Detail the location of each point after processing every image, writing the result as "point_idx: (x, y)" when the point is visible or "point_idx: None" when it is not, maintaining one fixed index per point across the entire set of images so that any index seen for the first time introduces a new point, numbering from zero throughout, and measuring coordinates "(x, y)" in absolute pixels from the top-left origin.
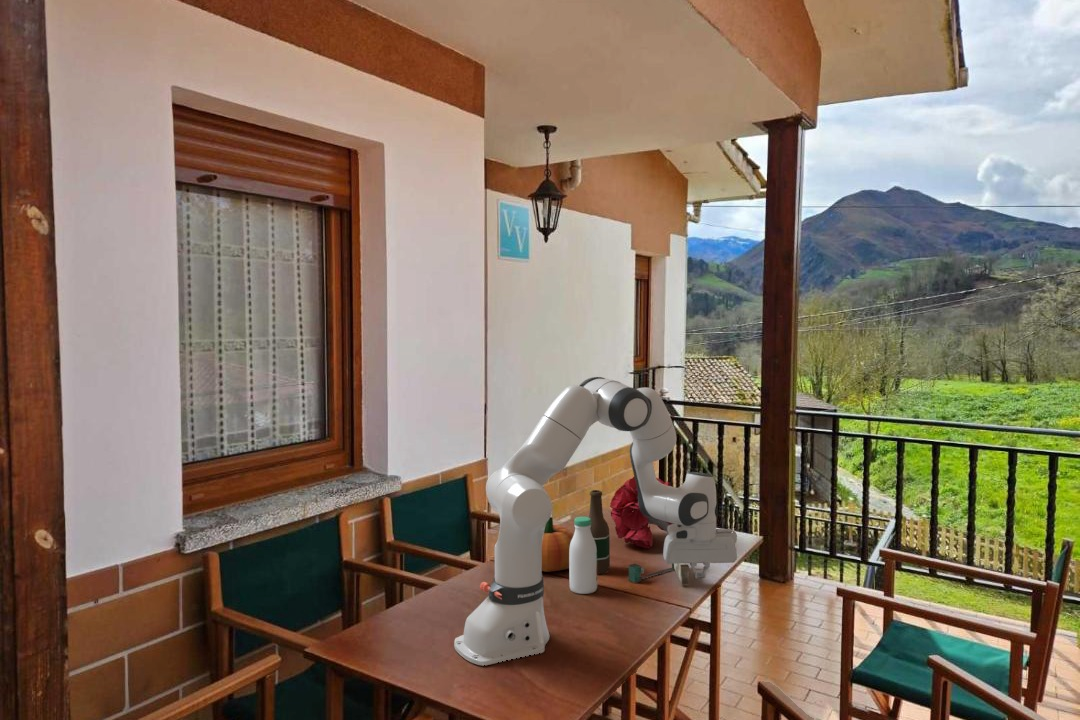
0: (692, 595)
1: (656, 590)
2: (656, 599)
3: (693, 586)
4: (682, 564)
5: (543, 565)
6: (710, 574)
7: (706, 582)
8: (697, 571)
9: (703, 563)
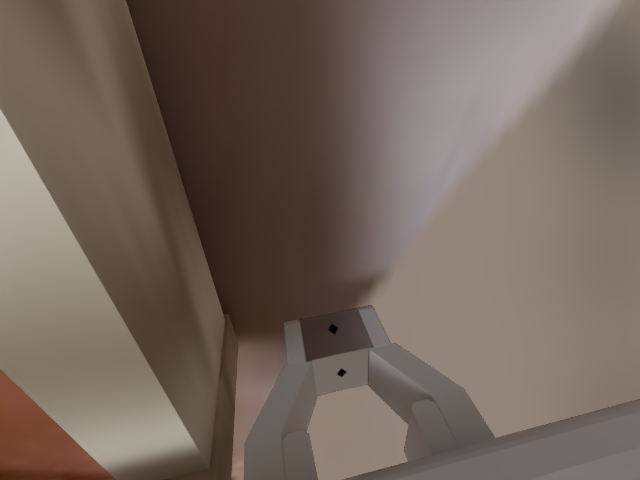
0: (255, 410)
1: (15, 411)
2: (64, 476)
3: (269, 322)
4: (138, 457)
5: None
6: (472, 64)
7: (373, 252)
8: (319, 377)
9: (413, 431)
